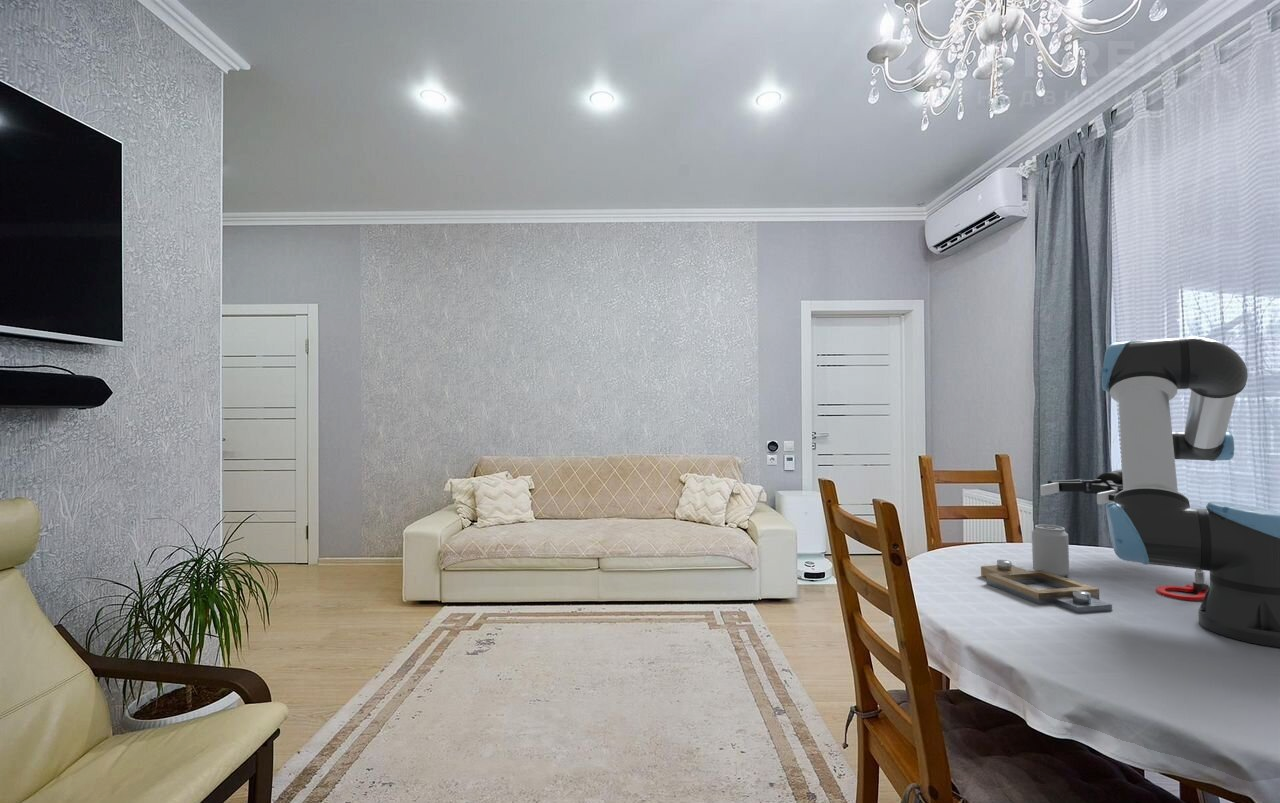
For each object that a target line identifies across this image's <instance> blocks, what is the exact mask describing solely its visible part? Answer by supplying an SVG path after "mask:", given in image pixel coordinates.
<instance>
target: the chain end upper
mask: <svg viewBox="0 0 1280 803" xmlns="http://www.w3.org/2000/svg"><path fill="white" fill-rule="evenodd" d="M980 576H981V577H982V578H985V577H986V579H988V580H991V581H993V582H996V583H998V584H1001V585H1004V586H1006V587H1009V588H1011V589H1014V590H1017V591H1019V592H1022V593H1024V594H1027V595H1030V596H1032V597H1035V598H1037V599H1046V598H1058V597H1071V596H1073V591H1075V590H1079V591H1085V592H1089V593H1090V594H1091V595H1097V594H1099V595H1100V588H1098V587H1094V586H1091V585H1088V584H1085V583H1082V582H1080V581H1076V580H1073V579H1070V578H1067V577H1065V576H1064V577H1061V576H1058V575H1055V574H1052V573H1049V572H1046V571H1043V570H1034V569H1033V570H1026V569H1024V568H1021V567H1019V566H1015V565H1013V564H1012V561H1011V560H1007V559H997V560H996V565H981V566H980ZM1031 578H1043V579H1046V580H1049V581H1052V582H1055V583H1058V584H1061V585H1064V586H1067V587H1070V588H1058V589H1057V588H1047V589H1037V588H1036V587H1032V586H1029V585H1028V584H1021V583H1019V582H1016V581H1013V580H1018V579H1031Z"/></svg>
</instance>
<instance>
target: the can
mask: <svg viewBox="0 0 1280 803" xmlns="http://www.w3.org/2000/svg"><path fill="white" fill-rule="evenodd" d="M1031 546H1032V549H1031V550H1032V569H1033V571H1034V570H1043V571H1046V572H1049V573H1052V574H1055V575H1058V576H1061V577H1064V578H1065V577H1066V576H1067V575H1068V574H1069V573H1070V554H1069V553H1070V552H1069V551H1070V548H1069V533H1067V532H1066V530H1065V527H1063V526H1061V525H1054V524H1036V525H1034V529H1033V530H1032V531H1031Z"/></svg>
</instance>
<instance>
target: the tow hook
mask: <svg viewBox="0 0 1280 803" xmlns="http://www.w3.org/2000/svg"><path fill="white" fill-rule="evenodd" d="M1194 579H1195V582H1192V584H1188V583H1187V584H1185V586H1184V585H1183V586H1182V585H1181V586H1180V585H1159V586H1157V587H1155V592H1156V593H1157V594H1158V593H1159V595H1160V594H1161V595H1160V596H1163V595H1164V596H1163V597H1166V596H1167V597H1166V598H1170V597H1171V599H1174V598H1175V600H1180V599H1181V600H1183V601H1191V602H1192V601H1194V602H1197V601H1203V599H1204V597H1205V595H1206V592H1207V590H1208V588H1209V586H1210V584H1207V583H1206V572H1204V570H1197V569H1195V571H1194ZM1171 591H1172V592H1171ZM1174 591H1175V592H1177V591H1178V592H1185V593H1194V594H1193V595H1192V594H1191V595H1190V594H1188V595H1187V594H1179V593H1173V592H1174Z"/></svg>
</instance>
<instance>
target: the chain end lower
mask: <svg viewBox="0 0 1280 803" xmlns="http://www.w3.org/2000/svg"><path fill="white" fill-rule="evenodd" d="M1013 581H1016V582H1019V583H1021V584H1024V585H1029V584H1043V585H1047V586H1049V587H1052V588H1054V589H1058V588H1070V587H1067V586H1064V585H1061V584H1058V583H1055V582H1052V581H1049V580H1046V579H1043V578H1031V579H1018V580H1013ZM985 582H986V585H989V586H991V587H993V588H996V589H997V590H998V589H999V590H1001V591H1004V592H1005V593H1009V594H1011V595H1013V596H1016V597H1018V598H1021V599H1023V600H1026V601H1028V602H1031V603H1034V604H1035V605H1036V604H1037V605H1038V606H1040V605H1041V606H1042V605H1052V604H1053V605H1056V606H1059V607H1061V608H1064V609H1066V610H1070V611H1072V612H1074V613H1077V614H1084V613H1098V612H1109V611H1113V604H1111V603H1110V602H1109V603H1108V602H1105V601H1102V600H1100V593H1099V594H1097V595H1091V594H1090V593H1089V592H1085V591H1079V590H1075V591H1073V596H1071V597H1058V598H1046V599H1037V598H1035V597H1032V596H1030V595H1027V594H1024V593H1022V592H1019V591H1017V590H1014V589H1011V588H1009V587H1006V586H1004V585H1001V584H998V583H996V582H993V581H991V580H988V579H986V581H985Z"/></svg>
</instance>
